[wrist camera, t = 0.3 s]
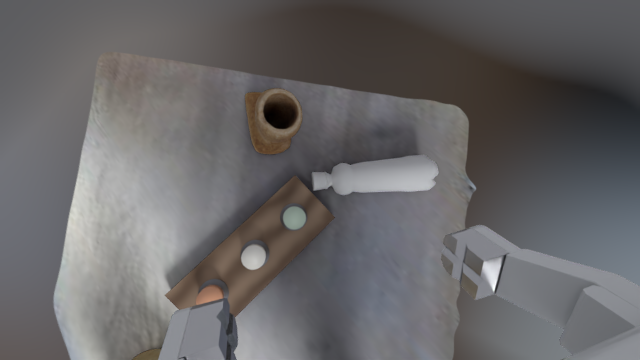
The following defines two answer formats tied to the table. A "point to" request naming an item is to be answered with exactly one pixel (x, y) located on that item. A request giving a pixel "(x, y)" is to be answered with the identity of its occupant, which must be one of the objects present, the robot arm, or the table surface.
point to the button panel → (261, 230)
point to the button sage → (294, 217)
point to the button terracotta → (209, 294)
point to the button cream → (253, 257)
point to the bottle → (379, 176)
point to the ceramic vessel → (148, 355)
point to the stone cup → (272, 119)
